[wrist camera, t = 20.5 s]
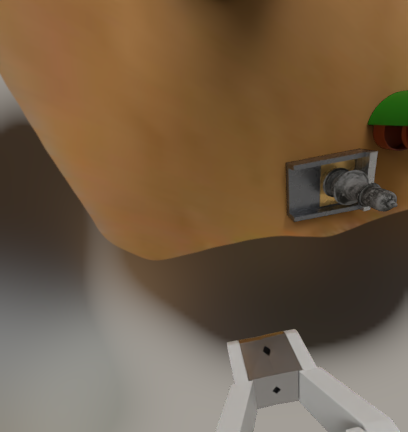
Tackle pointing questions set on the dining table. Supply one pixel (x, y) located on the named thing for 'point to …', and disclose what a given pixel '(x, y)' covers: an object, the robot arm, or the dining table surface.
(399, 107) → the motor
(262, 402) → the robot arm
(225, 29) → the dining table surface
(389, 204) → the grey tall turned piece
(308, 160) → the grey open frame
